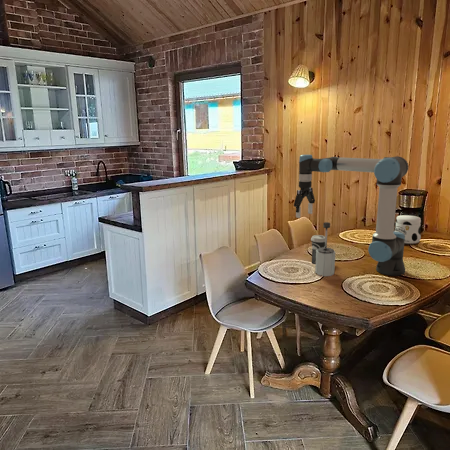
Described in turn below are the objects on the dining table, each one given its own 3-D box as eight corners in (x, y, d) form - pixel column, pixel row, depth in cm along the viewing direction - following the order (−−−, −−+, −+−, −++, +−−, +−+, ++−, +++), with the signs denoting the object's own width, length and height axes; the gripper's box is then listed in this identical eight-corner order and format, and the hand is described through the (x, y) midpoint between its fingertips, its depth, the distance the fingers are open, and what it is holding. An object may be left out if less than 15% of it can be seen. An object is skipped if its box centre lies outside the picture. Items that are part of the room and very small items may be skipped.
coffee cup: (326, 262, 234) (327, 239, 230) (310, 262, 236) (310, 238, 232) (325, 257, 243) (326, 234, 239) (310, 257, 245) (310, 234, 241)
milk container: (390, 243, 268) (392, 218, 264) (395, 237, 282) (397, 213, 278) (417, 247, 259) (420, 221, 254) (421, 241, 272) (424, 216, 268)
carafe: (336, 272, 218) (337, 249, 215) (328, 277, 211) (329, 253, 208) (316, 267, 227) (317, 245, 224) (307, 272, 220) (308, 249, 217)
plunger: (334, 253, 215) (335, 222, 211) (328, 256, 211) (329, 225, 206) (323, 250, 220) (324, 220, 216) (316, 253, 215) (318, 223, 211)
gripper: (310, 178, 241) (309, 211, 246) (288, 182, 223) (287, 218, 229) (321, 179, 236) (320, 212, 241) (299, 183, 218) (298, 220, 224)
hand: (304, 215), depth 235 cm, fingers open, 13 cm apart
